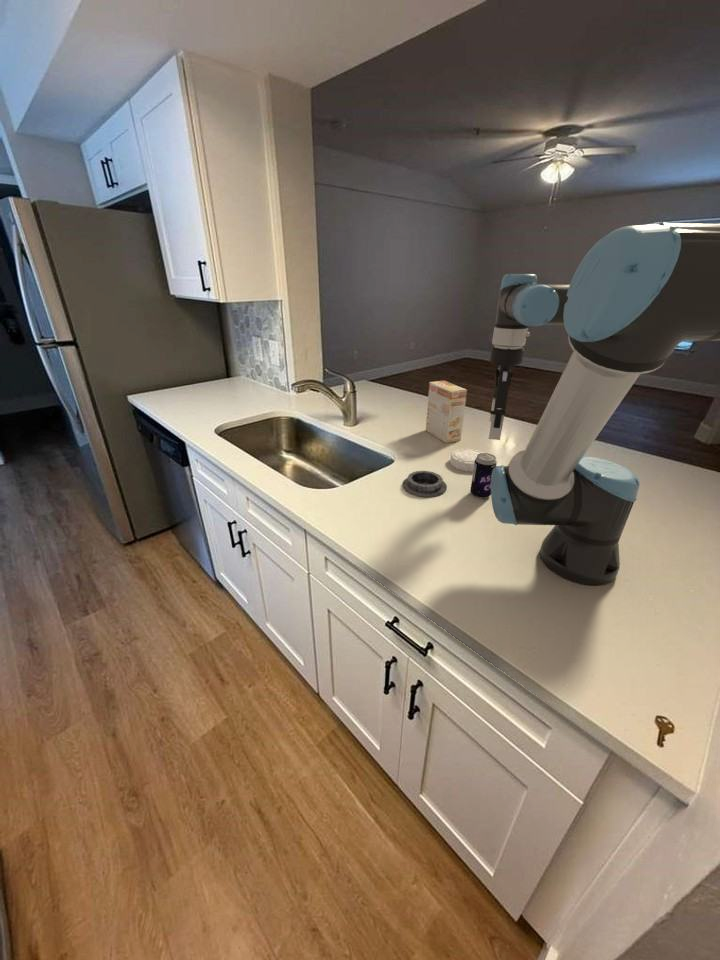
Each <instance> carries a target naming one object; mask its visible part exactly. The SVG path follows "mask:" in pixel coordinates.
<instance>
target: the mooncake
mask: <svg viewBox="0 0 720 960" xmlns="http://www.w3.org/2000/svg"><path fill="white" fill-rule="evenodd" d="M480 453H484V452H483V451H481V450H477V449H473V448H471V449H470V448H459V449H457V450H454V451H453V452H451V454H450V462H449V463H450V464H451V466H453V468H454V469H457V470H459V471H463V472H470V473H473V470H474V463H475V459H476V457H477V455H478V454H480Z"/></svg>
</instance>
